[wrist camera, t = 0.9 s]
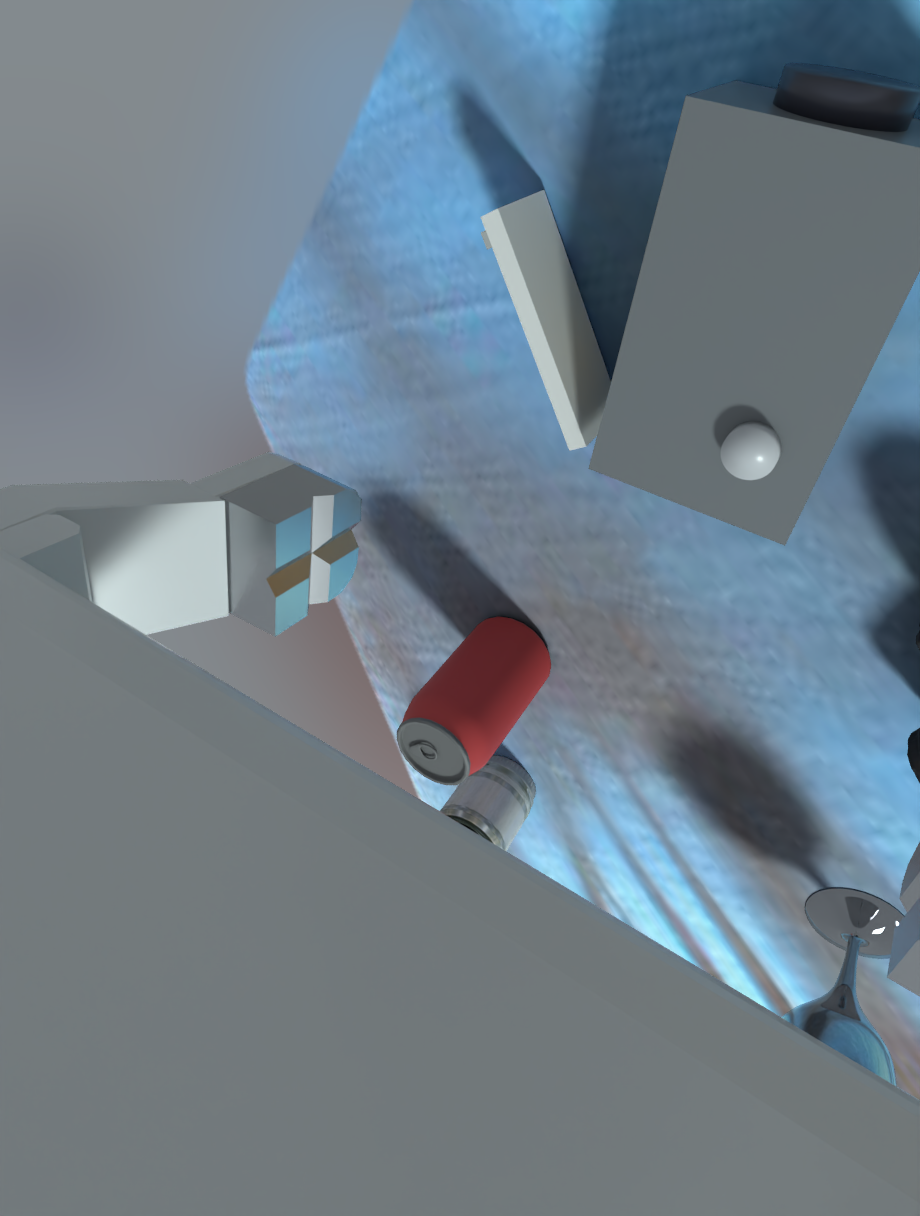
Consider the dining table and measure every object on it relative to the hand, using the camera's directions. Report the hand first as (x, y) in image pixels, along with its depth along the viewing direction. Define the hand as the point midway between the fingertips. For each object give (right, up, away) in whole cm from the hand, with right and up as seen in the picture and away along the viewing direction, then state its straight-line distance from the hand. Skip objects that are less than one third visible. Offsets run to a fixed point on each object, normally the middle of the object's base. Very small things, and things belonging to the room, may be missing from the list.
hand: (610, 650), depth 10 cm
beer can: (+2, -2, +50) cm, 50 cm away
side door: (+4, +17, +33) cm, 37 cm away
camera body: (+13, +15, +28) cm, 34 cm away
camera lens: (+2, -14, +59) cm, 61 cm away
